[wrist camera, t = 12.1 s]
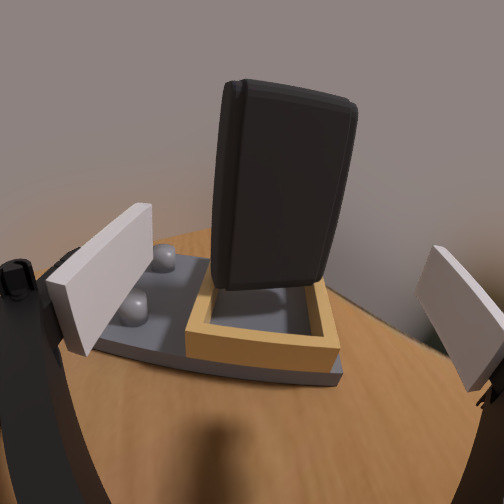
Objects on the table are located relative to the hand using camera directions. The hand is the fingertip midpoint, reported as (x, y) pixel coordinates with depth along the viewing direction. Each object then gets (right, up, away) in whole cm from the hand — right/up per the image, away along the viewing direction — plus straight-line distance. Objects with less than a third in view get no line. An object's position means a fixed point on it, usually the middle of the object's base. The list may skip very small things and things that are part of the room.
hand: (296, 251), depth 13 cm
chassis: (-5, -5, +13) cm, 15 cm away
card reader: (-1, -2, +12) cm, 12 cm away
